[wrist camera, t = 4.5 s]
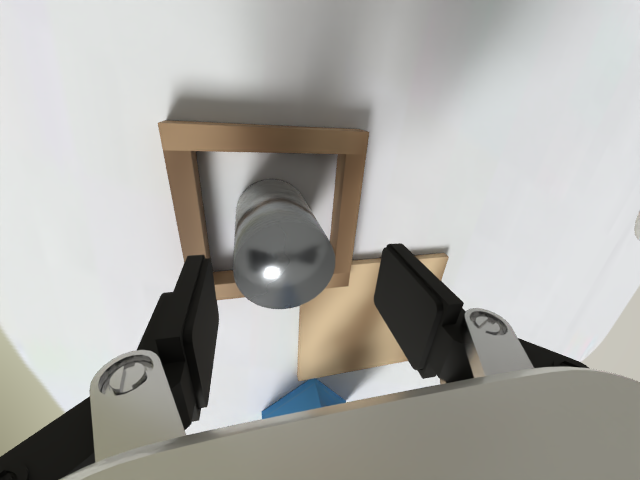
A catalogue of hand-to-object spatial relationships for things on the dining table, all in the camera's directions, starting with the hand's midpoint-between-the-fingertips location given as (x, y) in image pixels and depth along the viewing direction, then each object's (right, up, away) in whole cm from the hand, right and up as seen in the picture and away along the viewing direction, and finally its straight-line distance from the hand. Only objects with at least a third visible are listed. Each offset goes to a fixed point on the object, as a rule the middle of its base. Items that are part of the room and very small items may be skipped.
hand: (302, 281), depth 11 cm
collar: (-2, +3, +6) cm, 8 cm away
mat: (+5, -5, +13) cm, 15 cm away
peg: (-2, +3, +6) cm, 8 cm away
